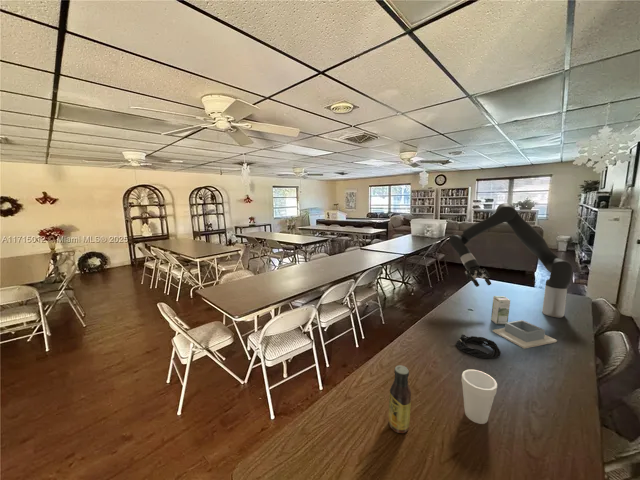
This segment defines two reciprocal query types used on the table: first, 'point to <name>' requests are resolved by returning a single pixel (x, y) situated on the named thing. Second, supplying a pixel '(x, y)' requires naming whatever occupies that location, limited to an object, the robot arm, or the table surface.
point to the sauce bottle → (400, 401)
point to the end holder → (524, 334)
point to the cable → (478, 352)
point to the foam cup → (478, 395)
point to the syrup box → (500, 309)
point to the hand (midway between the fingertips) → (483, 285)
